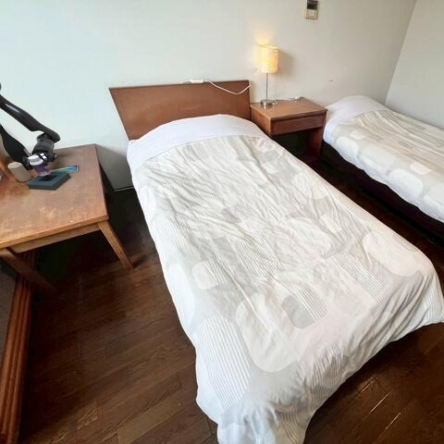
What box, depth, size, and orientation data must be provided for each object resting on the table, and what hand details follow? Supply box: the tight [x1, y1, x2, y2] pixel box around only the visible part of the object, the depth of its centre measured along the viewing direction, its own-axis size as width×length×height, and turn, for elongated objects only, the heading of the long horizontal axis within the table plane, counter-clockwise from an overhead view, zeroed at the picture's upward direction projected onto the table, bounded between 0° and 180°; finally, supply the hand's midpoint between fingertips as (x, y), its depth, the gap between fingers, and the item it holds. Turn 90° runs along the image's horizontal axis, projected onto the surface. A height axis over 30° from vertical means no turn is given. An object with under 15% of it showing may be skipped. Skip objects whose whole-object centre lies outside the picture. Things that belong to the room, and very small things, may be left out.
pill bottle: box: [28, 155, 51, 176], centre depth 129 cm, size 5×5×10 cm
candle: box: [7, 161, 32, 183], centre depth 133 cm, size 6×6×10 cm
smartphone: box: [49, 165, 79, 173], centre depth 145 cm, size 7×1×15 cm
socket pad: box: [25, 172, 72, 191], centre depth 135 cm, size 13×13×3 cm
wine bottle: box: [0, 122, 34, 171], centre depth 135 cm, size 8×8×30 cm
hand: (36, 166), depth 126 cm, fingers closed on pill bottle, 5 cm apart
